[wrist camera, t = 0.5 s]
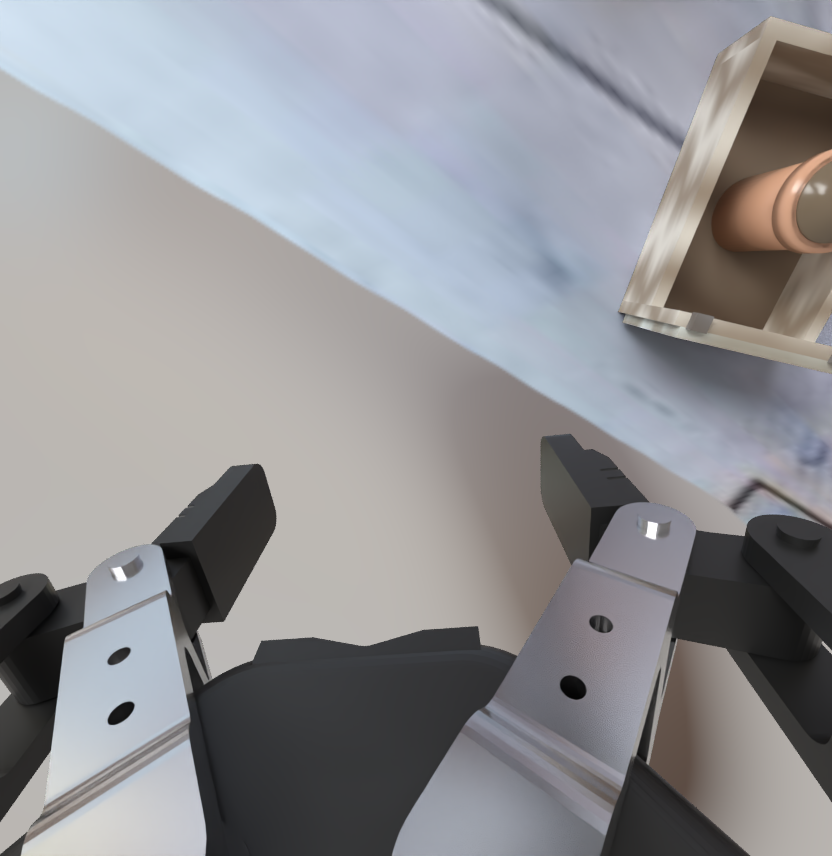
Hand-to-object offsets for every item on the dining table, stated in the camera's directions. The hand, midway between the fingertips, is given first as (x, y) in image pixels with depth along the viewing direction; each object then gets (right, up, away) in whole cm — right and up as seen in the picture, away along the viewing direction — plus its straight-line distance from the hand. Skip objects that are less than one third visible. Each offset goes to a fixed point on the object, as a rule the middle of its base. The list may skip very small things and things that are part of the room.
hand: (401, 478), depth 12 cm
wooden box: (+28, +19, +23) cm, 41 cm away
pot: (+28, +19, +22) cm, 40 cm away
